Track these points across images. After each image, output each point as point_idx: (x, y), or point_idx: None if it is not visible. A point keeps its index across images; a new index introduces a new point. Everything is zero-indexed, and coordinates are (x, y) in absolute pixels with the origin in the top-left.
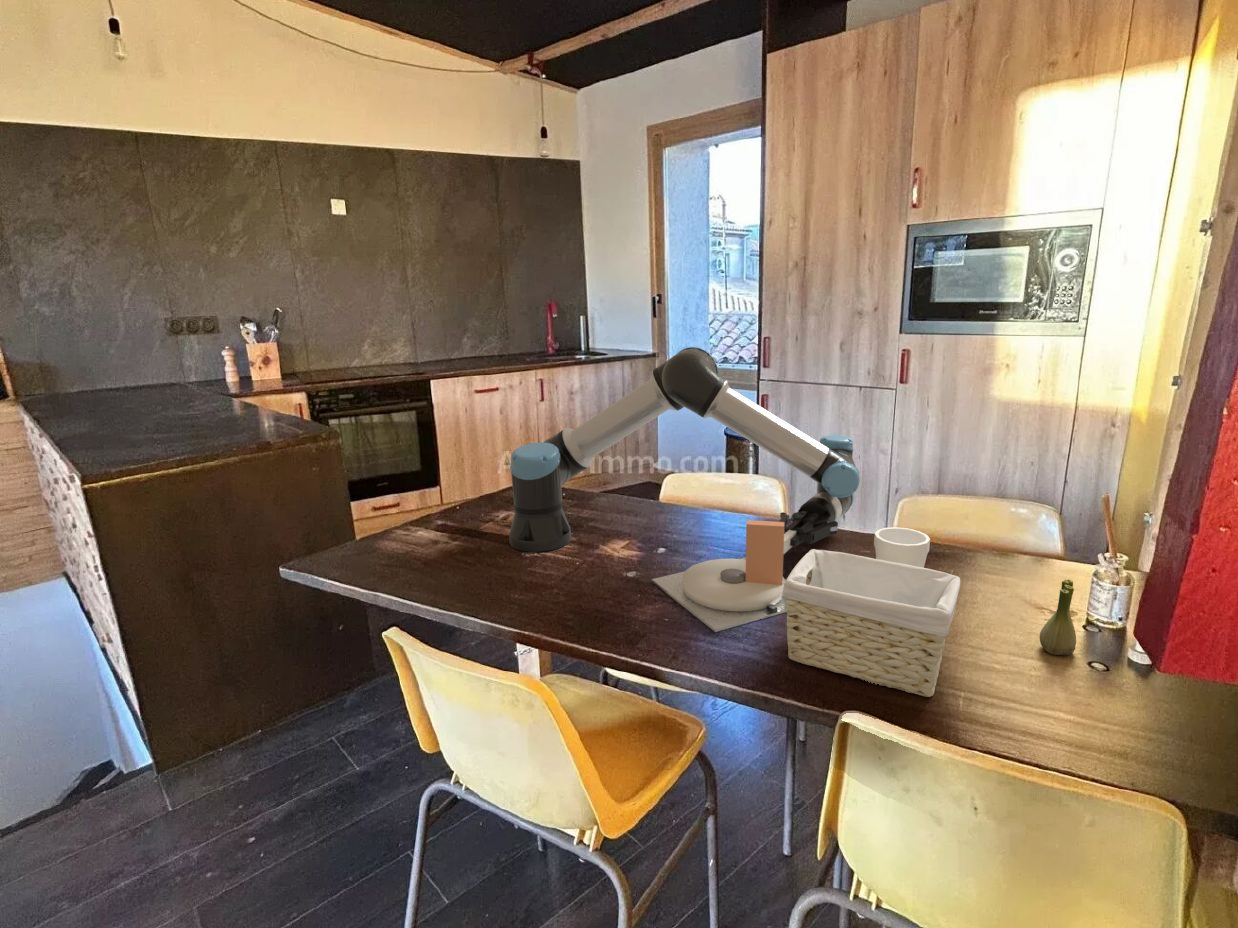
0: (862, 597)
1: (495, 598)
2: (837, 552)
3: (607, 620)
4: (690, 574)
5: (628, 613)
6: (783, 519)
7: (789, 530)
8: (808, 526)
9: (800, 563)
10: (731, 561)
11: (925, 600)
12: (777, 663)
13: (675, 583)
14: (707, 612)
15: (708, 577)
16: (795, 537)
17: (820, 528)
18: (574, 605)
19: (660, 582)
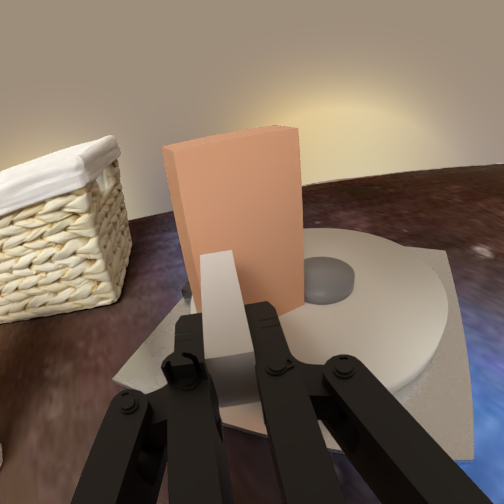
0: (34, 159)
1: (456, 180)
2: (33, 171)
3: (360, 199)
4: (395, 251)
5: (362, 210)
6: (445, 485)
7: (246, 346)
8: (171, 497)
9: (98, 143)
10: (414, 336)
11: None
12: (143, 238)
13: None
14: None
15: (361, 261)
16: (190, 336)
17: (77, 496)
18: (413, 197)
19: (426, 252)
